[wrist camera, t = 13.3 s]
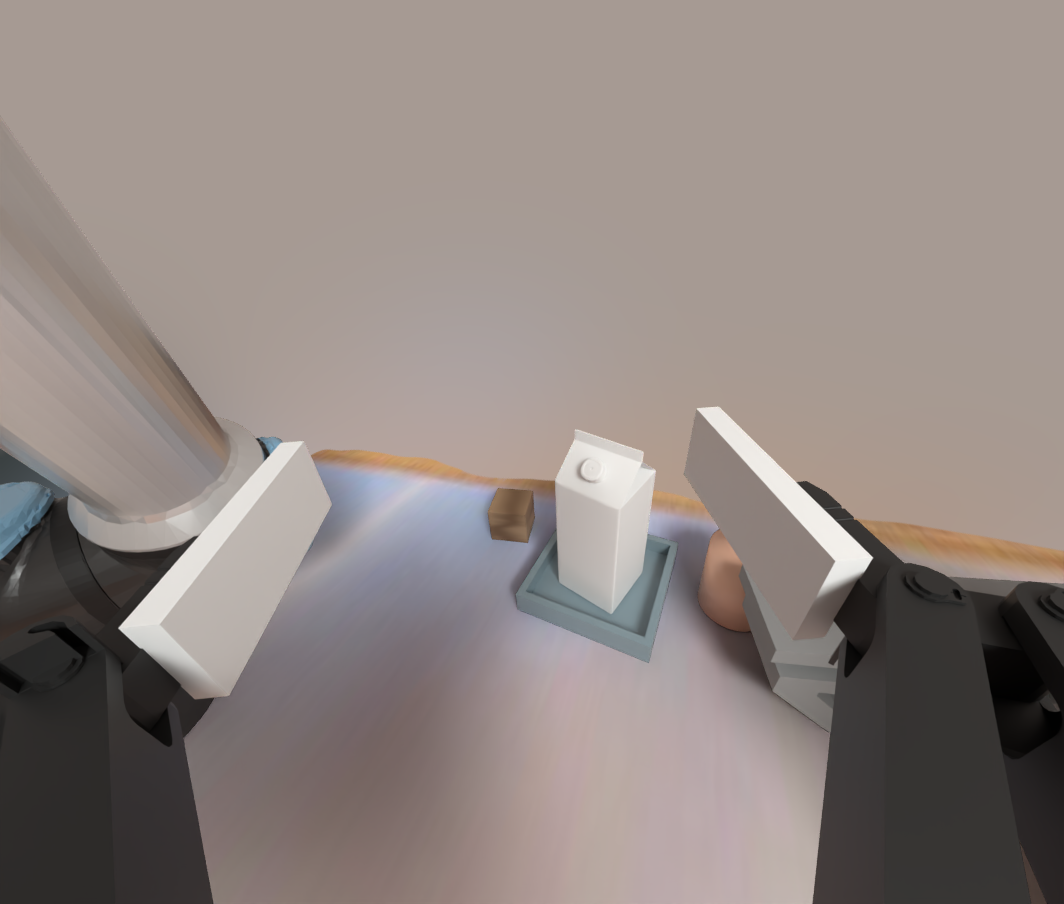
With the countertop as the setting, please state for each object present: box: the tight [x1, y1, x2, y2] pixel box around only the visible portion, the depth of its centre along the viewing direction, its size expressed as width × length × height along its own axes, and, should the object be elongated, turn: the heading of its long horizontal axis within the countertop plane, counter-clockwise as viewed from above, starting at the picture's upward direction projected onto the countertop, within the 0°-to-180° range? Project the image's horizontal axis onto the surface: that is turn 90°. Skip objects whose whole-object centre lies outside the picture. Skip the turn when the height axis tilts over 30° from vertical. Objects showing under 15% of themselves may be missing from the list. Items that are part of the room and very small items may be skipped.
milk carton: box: [555, 429, 656, 614], centre depth 41 cm, size 7×7×19 cm
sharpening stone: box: [739, 564, 1064, 732], centre depth 32 cm, size 25×8×11 cm, turn 82°
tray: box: [516, 528, 678, 663], centre depth 46 cm, size 15×15×3 cm
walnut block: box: [488, 488, 535, 543], centre depth 54 cm, size 5×5×5 cm
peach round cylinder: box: [697, 529, 751, 632], centre depth 41 cm, size 7×7×8 cm
